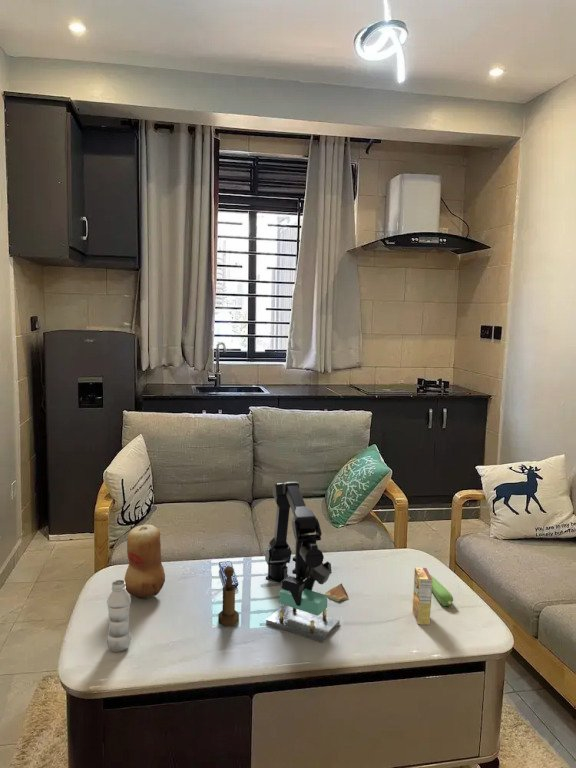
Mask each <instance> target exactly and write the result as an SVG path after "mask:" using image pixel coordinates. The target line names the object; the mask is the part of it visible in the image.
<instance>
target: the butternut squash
mask: <svg viewBox="0 0 576 768" xmlns="http://www.w3.org/2000/svg"><path fill="white" fill-rule="evenodd" d="M161 544H162V543H161V532H160V530H159V529H158V527H156V526H154V525H153V524H141V525H138V526H135V527H134V528H132V529H131V530H130V531H129V533H128V534H127V539H126V554H127V559H128V566H127V567H126V571H125V575H124V581H125V586H126V589H125V590H126V591H127V592H128V594H129V595H130V596H133V597H135V598H138V599H141V600H147V599H148V598H150V597H153V596H157V595H158V594H159V593H160V592H161V590H162V589H163V587H164V585H165V582H166V573H165V569H164V565H163V564H162V545H161Z"/></svg>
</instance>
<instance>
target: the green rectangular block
mask: <svg viewBox="0 0 576 768" xmlns="http://www.w3.org/2000/svg"><path fill="white" fill-rule="evenodd" d="M278 603H279V604H281V605H282V606H283V605H287V606H290V607H293V608H296V609H299V610H302V611H305V612H308V613H311V614H314V615H317V616H318V615H319V614H321V615H322V614H323V611H324V610H325V609H326V610H327V608H328V598H327V595H325V593H324V594H323V593H321V592H318V591H317V592H316V591H313V590H312V591H311V590H308V589H305V590H304V591H302V598H301V604H300V606H297V605H296V603H295V601H294V599H293V597H292V595H291V593H290V591H287V590H283V589H282V588H281V589H280V590H279V602H278Z"/></svg>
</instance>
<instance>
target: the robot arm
mask: <svg viewBox="0 0 576 768" xmlns="http://www.w3.org/2000/svg"><path fill="white" fill-rule="evenodd" d="M272 497H273V499H274V502H275V504H276V511H275V512H276V513H275V515H276V516H275V526H274V535H273V537H272V539H271V540H270V541H269V543H268V548H267V549H266V551H265V554H264V559H265V562H266V564H267V575H266V576H265V579H266V580H270V581H272V582H277V583H280V584H281V585H280V588H281V590H282V589H283V590H287V591H290V593H291V595H292V597H293V599H294V601H295V603H296V605H297V606H300V604H301V598H302V591H304V590H305V589H308V590H311V591H313V588H314V585H315V582H317V583H318V584H319V585H324V584H325V583H326V582H327V581H328V580H329V577H330V576H331V574H332V573H333V572H332V563H331V562H329V561H325V562H324V559H325V558H324V553H323V551H322V550H321V549H320V548H319V547H318V544H317V541H322V530H321V526H320V525H321V524H320V521H319V520H318V518H317V517H316V515H315V513H314V511H313V510H311V509H309V507H307V505H306V502H305V500H304V497H303V495H302V493H301V491H300V483H299V482H297V481H285V482H277V483H275V484H274V485H273V486H272ZM290 511H291V512H292V515H293V517H292V521H291V527H292V531H293V535H294V539H295V549H294V551H295V555H294V556H293V557H292V553H293V552H292V550H291V547H290V544H289V542H288V540H287V539H288V538H287V537H288V530H289V519H290ZM291 557H292V562H294V569H292V572H291V573H292V574H293V575H295V576H291V575H289V574H288V569H289V568H288V567H289V566H287V564H290V563H291Z"/></svg>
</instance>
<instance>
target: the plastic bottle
mask: <svg viewBox="0 0 576 768" xmlns="http://www.w3.org/2000/svg"><path fill="white" fill-rule="evenodd" d="M131 600H132V598H131V595H130V594H129V593H128V592H127V590H126V586H125V581H124V580H123V579H117V580H114V581H112V582H111V593H109V595H108V597H107V600H106V602H107V603H106V604H107V605H106V606H107V612H108V621H109V623H108V634H107V638H106V639H107V640H106V643H107V647H108V649H109V650H110V651H112V652H115V653H116V652H123V651H126V650H127V649H128V648H129V646H130V645H131V641H132V635H131V630H130V621H129V619H130V607H131V603H132V601H131Z"/></svg>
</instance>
